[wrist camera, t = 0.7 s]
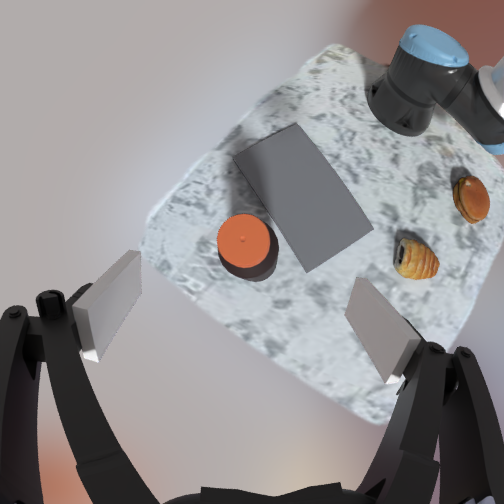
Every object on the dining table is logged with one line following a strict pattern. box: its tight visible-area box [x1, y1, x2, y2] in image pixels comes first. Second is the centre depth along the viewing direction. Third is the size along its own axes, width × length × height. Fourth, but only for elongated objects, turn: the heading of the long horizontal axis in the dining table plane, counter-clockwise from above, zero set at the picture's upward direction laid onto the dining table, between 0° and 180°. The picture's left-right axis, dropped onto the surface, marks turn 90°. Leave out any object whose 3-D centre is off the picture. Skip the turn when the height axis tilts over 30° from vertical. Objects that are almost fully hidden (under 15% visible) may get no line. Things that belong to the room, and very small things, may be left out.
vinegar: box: [217, 213, 279, 282], centre depth 35 cm, size 7×7×20 cm
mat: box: [233, 124, 374, 273], centre depth 45 cm, size 14×24×1 cm, turn 31°
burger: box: [453, 176, 490, 224], centre depth 41 cm, size 10×9×5 cm
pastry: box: [394, 238, 440, 280], centre depth 41 cm, size 9×7×4 cm
